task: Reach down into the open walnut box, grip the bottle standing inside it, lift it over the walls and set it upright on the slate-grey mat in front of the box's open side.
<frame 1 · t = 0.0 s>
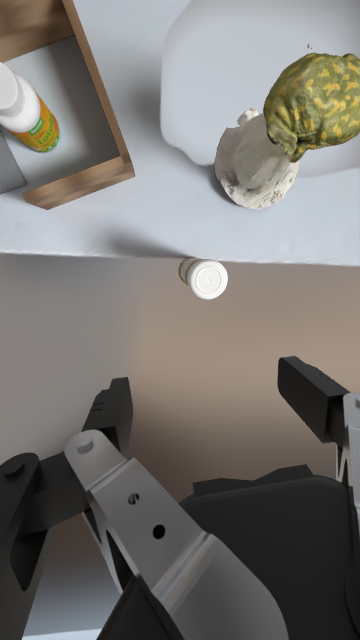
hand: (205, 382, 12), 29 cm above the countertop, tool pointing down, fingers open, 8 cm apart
supplement bottle: (41, 132, 32), on the countertop
sprinkles bottle: (191, 270, 40), on the countertop
open box: (48, 129, 32), on the countertop
yellow capped ghost figurine: (255, 164, 36), on the countertop
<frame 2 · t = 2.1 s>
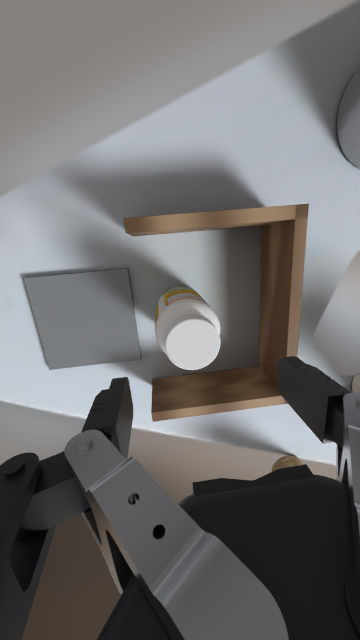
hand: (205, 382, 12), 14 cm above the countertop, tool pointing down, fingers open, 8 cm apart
grey mat: (87, 320, 25), on the countertop
supplement bottle: (180, 309, 26), on the countertop
open box: (189, 309, 26), on the countertop
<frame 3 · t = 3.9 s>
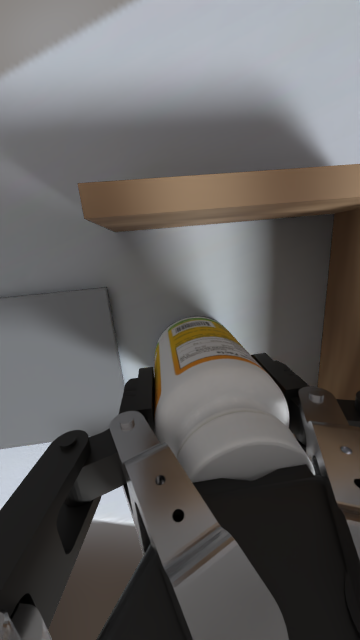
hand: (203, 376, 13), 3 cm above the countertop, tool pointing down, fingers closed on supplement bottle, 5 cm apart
grey mat: (41, 372, 15), on the countertop
supplement bottle: (194, 352, 16), on the countertop, touching gripper
open box: (209, 351, 16), on the countertop
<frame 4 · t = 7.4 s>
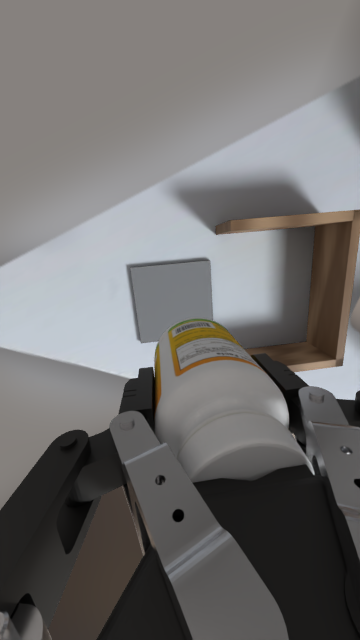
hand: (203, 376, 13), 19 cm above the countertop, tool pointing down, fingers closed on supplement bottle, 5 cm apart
grey mat: (174, 302, 31), on the countertop
supplement bottle: (194, 352, 16), point 16 cm above the countertop, touching gripper
open box: (254, 293, 32), on the countertop
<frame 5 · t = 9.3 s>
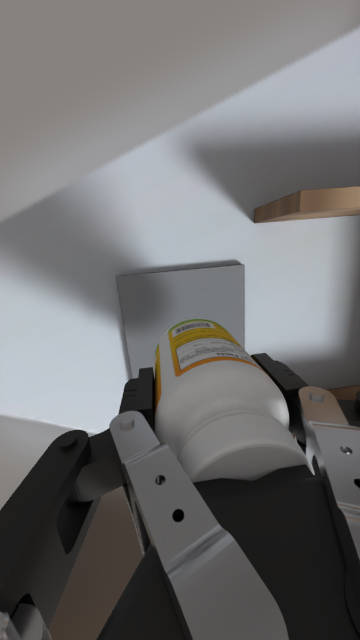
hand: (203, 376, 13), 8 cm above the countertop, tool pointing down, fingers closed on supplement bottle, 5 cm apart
grey mat: (185, 329, 20), on the countertop
supplement bottle: (194, 352, 16), point 4 cm above the countertop, touching gripper
open box: (308, 315, 21), on the countertop
when the fingers open (5 cm above the countertop, at t = 10.8 s): supplement bottle drops 1 cm, resting on grey mat.
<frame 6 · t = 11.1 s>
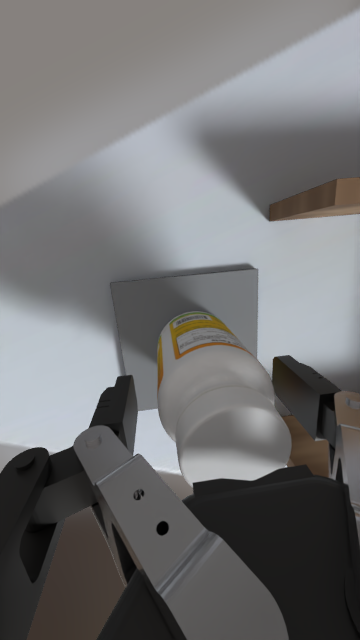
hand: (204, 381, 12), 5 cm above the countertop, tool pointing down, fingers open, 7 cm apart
grey mat: (190, 342, 18), on the countertop
supplement bottle: (193, 344, 17), resting on grey mat
open box: (328, 325, 18), on the countertop
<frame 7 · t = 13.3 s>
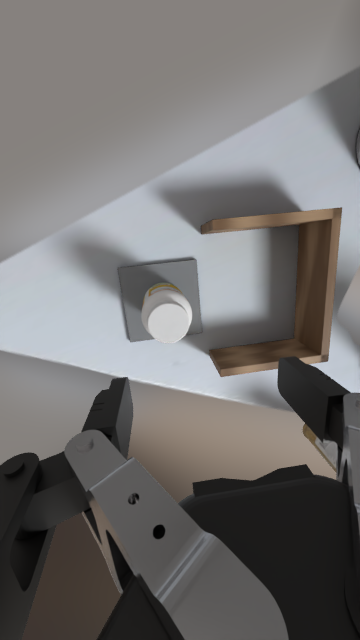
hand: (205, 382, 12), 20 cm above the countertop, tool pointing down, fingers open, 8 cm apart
grey mat: (162, 301, 32), on the countertop
supplement bottle: (163, 302, 31), resting on grey mat
sprinkles bottle: (313, 425, 41), on the countertop
open box: (241, 292, 33), on the countertop
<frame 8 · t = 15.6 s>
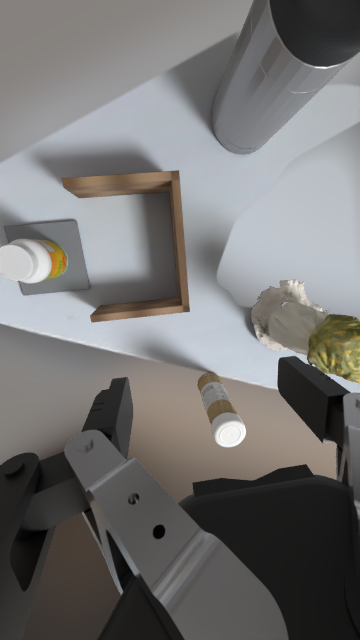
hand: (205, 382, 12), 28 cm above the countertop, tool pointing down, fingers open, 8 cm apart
grey mat: (50, 259, 36), on the countertop
supplement bottle: (50, 259, 36), resting on grey mat
sprinkles bottle: (208, 381, 45), on the countertop
open box: (122, 252, 37), on the countertop
yellow capped ghost figurine: (284, 314, 43), on the countertop
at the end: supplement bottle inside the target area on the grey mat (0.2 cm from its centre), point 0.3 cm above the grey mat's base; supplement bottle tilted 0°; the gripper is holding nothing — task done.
